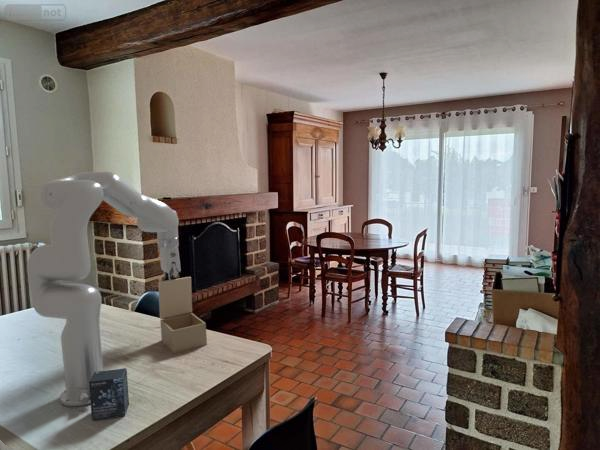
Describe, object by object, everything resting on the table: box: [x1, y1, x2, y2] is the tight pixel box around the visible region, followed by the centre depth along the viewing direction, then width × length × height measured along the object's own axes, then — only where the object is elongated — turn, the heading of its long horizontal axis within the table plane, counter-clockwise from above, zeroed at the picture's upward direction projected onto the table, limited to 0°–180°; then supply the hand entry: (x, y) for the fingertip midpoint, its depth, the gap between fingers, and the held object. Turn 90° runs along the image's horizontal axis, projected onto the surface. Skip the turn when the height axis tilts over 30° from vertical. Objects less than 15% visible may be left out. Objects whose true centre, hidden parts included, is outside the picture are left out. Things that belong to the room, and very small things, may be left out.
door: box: [158, 276, 193, 320], centre depth 152 cm, size 14×12×6 cm
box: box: [89, 367, 130, 421], centre depth 103 cm, size 8×6×11 cm
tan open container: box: [159, 312, 208, 355], centre depth 146 cm, size 14×12×8 cm
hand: (171, 289), depth 154 cm, fingers open, 4 cm apart
